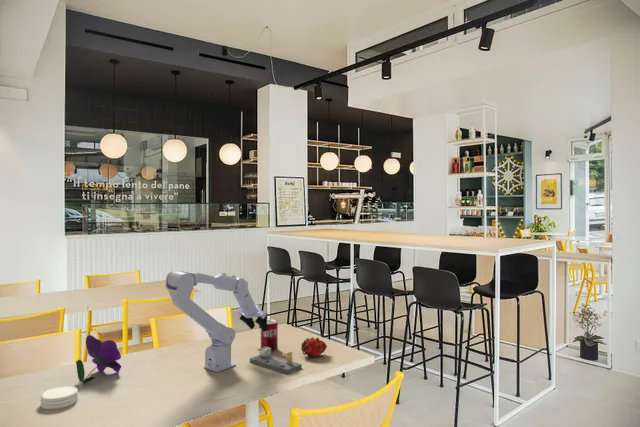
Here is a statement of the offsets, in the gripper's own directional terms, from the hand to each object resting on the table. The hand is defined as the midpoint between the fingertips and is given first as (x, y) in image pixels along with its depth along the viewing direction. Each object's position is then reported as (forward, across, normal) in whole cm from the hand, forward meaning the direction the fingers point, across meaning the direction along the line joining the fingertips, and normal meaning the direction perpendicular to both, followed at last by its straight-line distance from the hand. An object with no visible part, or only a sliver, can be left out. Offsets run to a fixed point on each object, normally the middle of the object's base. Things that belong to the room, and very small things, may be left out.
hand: (259, 328), depth 182 cm
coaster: (-26, +15, +66) cm, 73 cm away
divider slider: (+6, -6, +8) cm, 12 cm away
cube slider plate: (+8, -13, +10) cm, 18 cm away
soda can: (+13, +2, -1) cm, 13 cm away
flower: (-19, +26, +52) cm, 61 cm away
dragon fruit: (+17, -18, -6) cm, 25 cm away
